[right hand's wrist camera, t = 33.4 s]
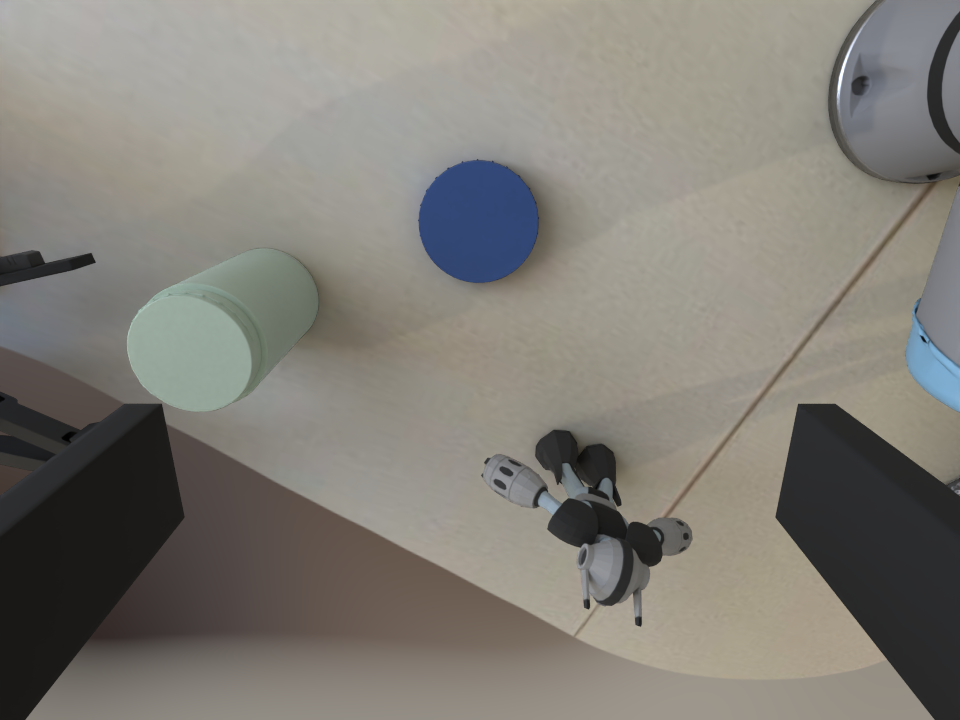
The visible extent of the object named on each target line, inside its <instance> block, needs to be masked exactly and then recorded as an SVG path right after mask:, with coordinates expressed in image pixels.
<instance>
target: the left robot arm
mask: <svg viewBox="0 0 960 720" xmlns="http://www.w3.org/2000/svg"><path fill="white" fill-rule="evenodd" d="M93 263H96V262H95V260H94V258H93V255H92V253H89V254H85V255H80V256H76V257H71V258H67V259H62V260H58V261H53V262H49V263H45V262H44V260H43V258H42V256H41V254H40V252H39V251H33V250H31V251H27V252H22V253H18V254H13V255H9V256H4V257H0V286H3V285H8V284H12V283H17V282H21V281H26V280H30V279H35V278H39V277H44V276H49V275H53V274H58V273H62V272H67V271H71V270H75V269H78V268H81V267H84V266H87V265H90V264H93ZM98 423H99V422H97V423H92V424H89V425H87V426H86V427H85V428H83V429H82V430H79V429H76V428H74V427H72V426H69V425H67V424H65V423H62V422H60V421H58V420H55V419H53V418H51V417H48V416H46V415H44V414H41V413H39V412H36V411H34V410H32V409H29V408H27V407H25V406H22V405H20V404H18V403H17V399H16V398H14V397H11V396H9V395H7V394H4V393H2V392H0V431H2V432H4V433H6V434H9V435H11V436H4V435H0V464H1V465H5V466H10V467H15V468H20V469H25V470H29V471H34V470H36V469H37V468H38V467H40V466H41V465H42V464H44V463H45V462H47V461H48V460H49V459H51V458H52V457H53V456H55V455H56V454H57V453H59V452H60V451H61V450H63V449H64V448H66V447H67V446H68V445H70V444H71V443H72V442H74V441H75V440H76V439H78V438H79V437H80V436H82V435H83V434H85V433H86V432H87V431H89V430H90V429H91V428H93V427H94V426H95V425H97V424H98ZM13 436H14V437H13Z"/></svg>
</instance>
